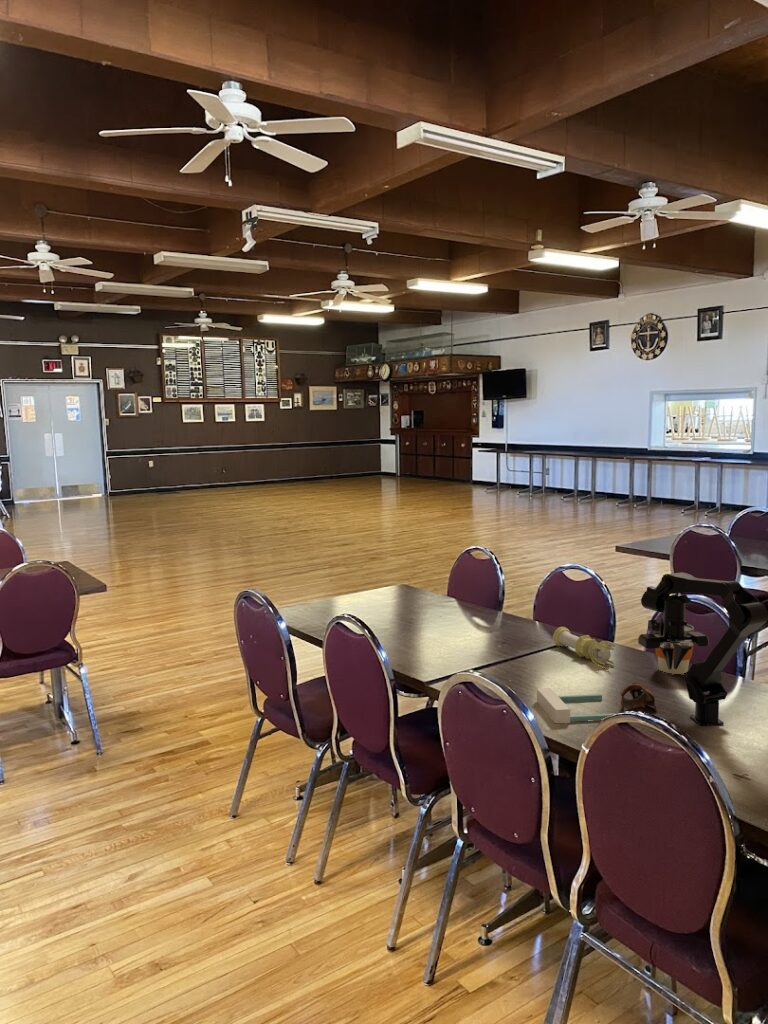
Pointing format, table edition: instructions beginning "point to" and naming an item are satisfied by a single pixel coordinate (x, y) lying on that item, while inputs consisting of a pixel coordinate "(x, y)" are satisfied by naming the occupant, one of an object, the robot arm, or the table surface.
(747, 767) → the table surface
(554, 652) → the table surface
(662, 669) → the reusable coffee cup
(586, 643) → the trophy
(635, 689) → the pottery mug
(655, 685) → the table surface
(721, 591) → the robot arm
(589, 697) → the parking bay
